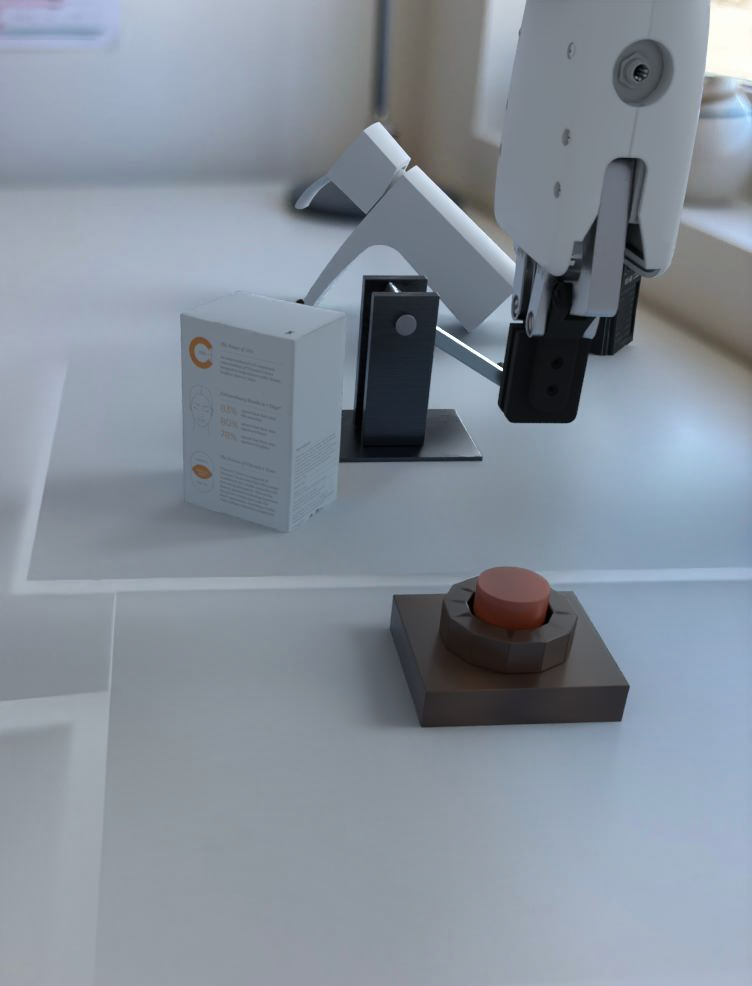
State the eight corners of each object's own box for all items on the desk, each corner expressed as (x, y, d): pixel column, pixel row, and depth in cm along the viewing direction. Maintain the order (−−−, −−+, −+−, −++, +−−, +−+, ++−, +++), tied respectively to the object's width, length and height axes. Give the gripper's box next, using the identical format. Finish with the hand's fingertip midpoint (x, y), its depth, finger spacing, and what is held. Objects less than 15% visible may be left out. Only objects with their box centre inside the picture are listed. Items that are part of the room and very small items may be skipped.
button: (533, 594, 59) (539, 565, 58) (554, 632, 56) (560, 601, 55) (465, 596, 58) (469, 566, 57) (482, 634, 55) (486, 603, 54)
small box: (338, 509, 74) (351, 311, 67) (286, 547, 70) (294, 339, 63) (236, 478, 78) (237, 287, 71) (180, 512, 73) (176, 312, 66)
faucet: (517, 289, 101) (361, 121, 99) (394, 405, 111) (248, 255, 108) (529, 271, 106) (380, 111, 104) (410, 384, 116) (271, 240, 113)
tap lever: (498, 389, 84) (519, 362, 83) (516, 414, 80) (538, 386, 79) (365, 305, 80) (385, 275, 79) (377, 327, 75) (398, 296, 74)
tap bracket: (453, 423, 87) (472, 267, 81) (481, 472, 80) (504, 305, 73) (298, 424, 86) (305, 266, 80) (311, 474, 79) (320, 305, 72)
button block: (566, 624, 63) (579, 561, 61) (621, 722, 56) (638, 654, 53) (389, 628, 62) (395, 564, 60) (421, 728, 55) (429, 660, 52)
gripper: (817, -51, 35) (679, 487, 45) (644, -62, 48) (566, 361, 58) (583, -62, 34) (495, 487, 44) (470, -71, 47) (421, 360, 57)
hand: (535, 415), depth 51 cm, fingers closed
